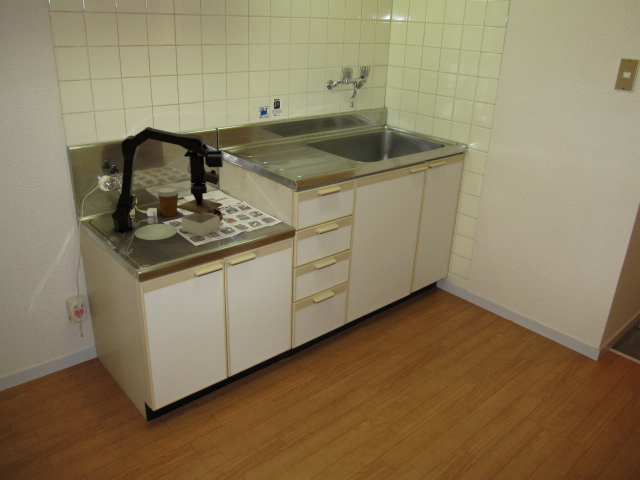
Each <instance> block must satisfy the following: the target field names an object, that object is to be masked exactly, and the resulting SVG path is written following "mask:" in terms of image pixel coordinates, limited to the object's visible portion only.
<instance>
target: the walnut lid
mask: <svg viewBox="0 0 640 480" xmlns="http://www.w3.org/2000/svg"><path fill="white" fill-rule="evenodd" d="M222 206H223V203H221V202H217V201H214V200H210V199H205V198H204V194H203V195H202V202H201V205H198V203H197V201H196V199H195V198H194V199H192V200H190V201H187V202H183V203H181V204H179V205H178V204H177V209H180V210H183V211H185V212H186V211H187V212H190V213H192V214H193V213H197V214H203V213H205V212H208V211H210V210H213V209H215V208H220V207H222Z"/></svg>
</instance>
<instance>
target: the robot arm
mask: <svg viewBox="0 0 640 480" xmlns="http://www.w3.org/2000/svg"><path fill="white" fill-rule="evenodd" d="M203 138H204V137H202V136H201V135H199V134H195V133H193V134H192V133H189V134H188V133H187V134H183V133H181V134H180V133H175V132H171V131H168V130H167V131H166V130H162V129H159V128H158V129H157V128H153V127H151V126H147V127H145V128H144V129H143V130H141V131H140V132H138V133H137V134H134V135H128V136H127V137H126V138H125V139H124V140H122V142H121V144H120V147H121V155H122V157H123V168H122V179H121V191H120V195H119V197H118V199H117V203H116V209H114V211H113V213H112V214H111V218H112V220H113V228H112V231H113V232H117V233H120V234H124V233H126V232H130V231H132V230H134V229H135V227H133V220H132V216H131V214H130V213H131V212H132V210H133V209H134V208H135V207H136V206H137V202H136V201H137V198H138V197H137V195H134V194H133V187H134V178H135V177H134V176H135V175H134V174H135V164H136V158H137V156H138V152H139V149H140V146H141V145H142V144H143V143H145V142H146V141H147V140H153V141H156V142H157V141H158V142H161V143H168V144H172V145H176V146H180V147H181V148H183V149H186V152H185V153H184V154H183V157H185V158H187V157H188V159H189V175H190V194H191V195H192V196H193V197H194V199H196V201H197V203H198V205H201V202H202V195H203V196H204V194H207V193H208V191H207V190H208V189H207V183H209V184H213V185H215V186H217V185H218V183H219V179H220V175H219V174H218V173H217V172H216V170H215V169H211V170H210V171H206V168H205V165H206V166H207V167H208V168H223V167H224V157H223V151H222V150H221V149H217V150H210V149H209V147H208V146H207V145H206V143H205V140H204V139H203Z"/></svg>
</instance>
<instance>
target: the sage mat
mask: <svg viewBox="0 0 640 480" xmlns="http://www.w3.org/2000/svg"><path fill="white" fill-rule="evenodd" d="M177 232H178V229H177V228H176V227H175V226H174V225H171V224H166V223H154V224H148V225H143V226H141V227H139V228H137V229H136V230H135V231H134V235H135V237H137V238H138V239H140V240H141V239H142V240H147V241H148V240H149V241H156V240H164V239H168V238H171V237H173V236H175V235H176V233H177Z"/></svg>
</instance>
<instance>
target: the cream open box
mask: <svg viewBox="0 0 640 480" xmlns="http://www.w3.org/2000/svg"><path fill="white" fill-rule="evenodd" d="M180 219H181V230H182V231H183V232H186V233H190V234H193V235H196V236H199V237H204V236H206V235H208V234H211V233H213V232H215V231H216V230H219V229H221V225H220V224H221V223H220V221H221V220H220V218H219V216H218V214H210V213H207V212H205V213H203V214H197V213H193V212H192V213H190V214H187V215H184V216H183V217H181V218H180Z"/></svg>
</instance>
